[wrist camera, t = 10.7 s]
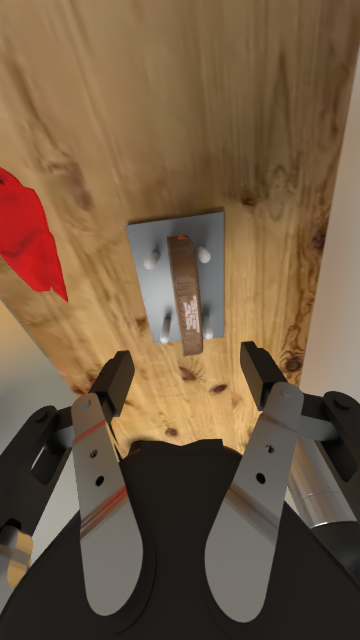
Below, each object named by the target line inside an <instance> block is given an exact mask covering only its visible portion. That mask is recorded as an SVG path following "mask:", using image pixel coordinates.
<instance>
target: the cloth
mask: <svg viewBox="0 0 360 640" xmlns="http://www.w3.org/2000/svg"><path fill="white" fill-rule="evenodd" d="M0 254H1V256H2V257H3V258H4V259H5V261H6V262H7V263H8V264H9V265H10V267H11V268H12V269H13V270H14V271H15V272H16V273H17V274H18V275H19V276H20V278H22V279H23V280H24V281H25V282H26V283H27V284H28V285H29V286H30V287H31V288H32V289H33V290H34V291H37V292H42V291H50V288H51V286H52V288H53V290H54V291H55V292H56V293H57V294H58V295H60V296H61V297H62V298H63V299H64V300H65V301H66V302H68V298H67V294H66V287H65V284H64V279H63V274H62V269H61V265H60V261H59V258H58V255H57V249H56V244H55V240H54V237H53V235H52V234H51V232H50V231H49V228H48V223H47V220H46V216H45V212H44V209H43V206H42V204H41V201H40V199H39V197H38V196H37V194H36V192H35V191H34V189H31V188H27V187H24V186H23V185H22V184H21V183H20V182H19V180H18V179H17V178H16V177H14V176H13V175H11V174H10V173H8V172H7V171H5V170H4V169H3V168H1V167H0Z"/></svg>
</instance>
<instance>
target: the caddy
mask: <svg viewBox="0 0 360 640" xmlns="http://www.w3.org/2000/svg"><path fill="white" fill-rule="evenodd" d="M126 230H127V234H128V238H129V242H130V246H131V251H132V255H133V259H134V263H135V267H136V271H137V276H138V280H139V284H140V288H141V292H142V296H143V300H144V305H145V309H146V313H147V317H148V321H149V325H150V330H151V334H152V338H153V342H154V343H167V342H173V341H181V339H180V332H179V325H178V318H177V311H176V305H175V298H174V291H173V284H172V277H171V270H170V263H169V256H168V247H167V236H169V237H171V236H178V235H188V236H189V238H190V239H191V240H192V242H193V246H194V250H195V255H196V261H197V269H198V278H199V290H200V301H201V315H202V331H203V339H211V338H218V337H224V212H219V213H211V214H204V215H197V216H190V217H183V218H176V219H169V220H162V221H155V222H148V223H141V224H134V225H127V226H126Z"/></svg>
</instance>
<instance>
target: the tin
mask: <svg viewBox="0 0 360 640" xmlns="http://www.w3.org/2000/svg"><path fill="white" fill-rule="evenodd" d="M167 247H168V256H169V263H170V270H171V277H172V284H173V291H174V298H175V305H176V311H177V318H178V325H179V332H180V339H181V346H182V352H183V357H185V356H189V355H197V354H201V353H202V352H203V331H202V315H201V301H200V290H199V278H198V269H197V261H196V255H195V250H194V246H193V242H192V240H191V239H190V238H189V236H188V235H178V236H171V237H169V236H167Z"/></svg>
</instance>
